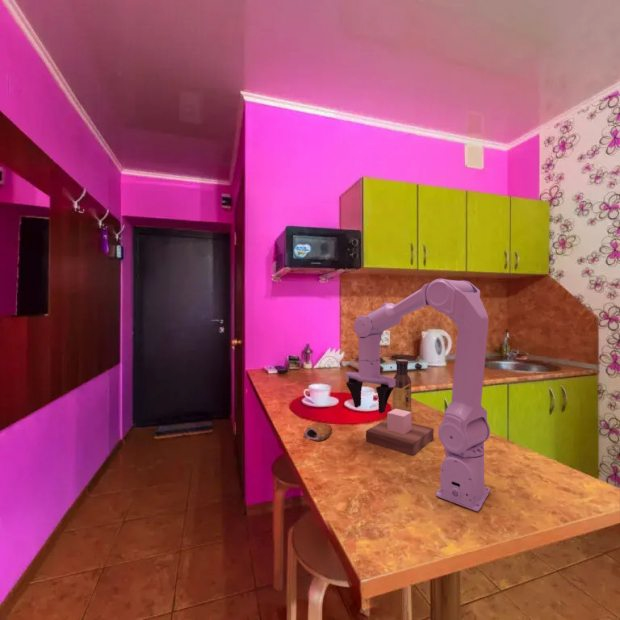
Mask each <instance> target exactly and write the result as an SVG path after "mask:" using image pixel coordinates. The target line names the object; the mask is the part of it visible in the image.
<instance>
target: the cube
mask: <svg viewBox="0 0 620 620" xmlns="http://www.w3.org/2000/svg"><path fill="white" fill-rule="evenodd" d="M386 414H387V416H386V417H387V430H389V431H392V432H396V433H400V434H403V435H404V434H406V433H407V432H409V431H410V430H412V422H413V421H412V420H413V419H412V415H413V414H412V411H411V412H409V411H404V410H400V409H394V410H393V409H391V410H390V411H388V412H387V413H386Z"/></svg>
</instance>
